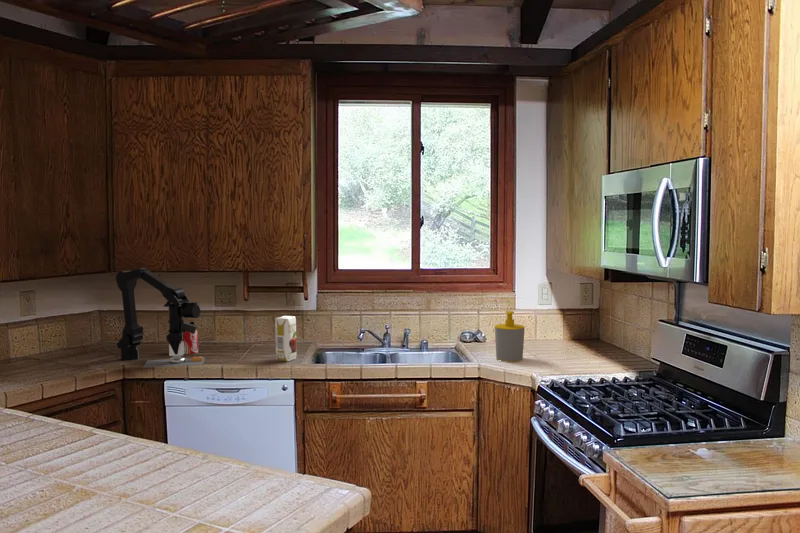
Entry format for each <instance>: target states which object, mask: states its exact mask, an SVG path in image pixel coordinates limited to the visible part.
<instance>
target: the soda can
mask: <svg viewBox="0 0 800 533" xmlns="http://www.w3.org/2000/svg"><path fill="white" fill-rule="evenodd" d="M182 334H185V335H184V337H183V340H182V341H184V355H195V354H197V353H199V332H198V330H197V329H196V331H195V334H192V333H190V332H187V331H186V333H184V332H182Z"/></svg>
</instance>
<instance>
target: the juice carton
mask: <svg viewBox="0 0 800 533" xmlns="http://www.w3.org/2000/svg"><path fill="white" fill-rule="evenodd" d="M274 320H275V322H274V324H275V325H274V326H275V327H274V328H275V331H274V332H275V335H274V336H275V337H274V338H275V358H276V361H278V362H279V361H280V362H290V361H292V360H296V359H297V319H296V316H294V315H282V316H280V317H275V318H274Z"/></svg>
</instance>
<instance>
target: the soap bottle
mask: <svg viewBox="0 0 800 533" xmlns="http://www.w3.org/2000/svg"><path fill="white" fill-rule="evenodd" d="M514 313H515V311H513V310H507V311H505V314H506V317H507V318H505V320H504V321H505V323H500V324H496V325H494V335H495V353H496V354H495V359H496V360H497V361H498V360H501V361H500V362H502V361H507V362H506V363H518V362H517V361H519V362H522V361H523V360H524V357H523V356H524V343H525V342H524V341H525V330H526V329H525V326H524V325H523V324H515V319H513V314H514Z"/></svg>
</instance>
